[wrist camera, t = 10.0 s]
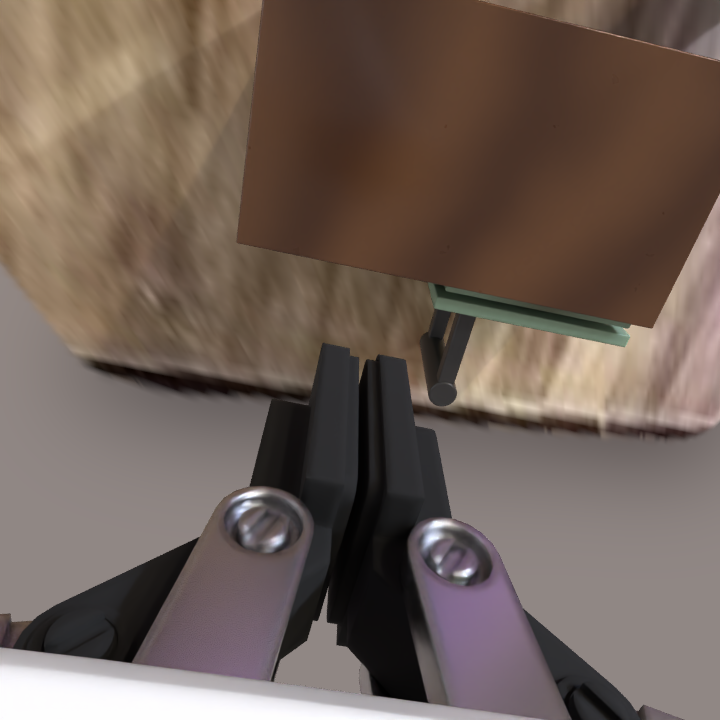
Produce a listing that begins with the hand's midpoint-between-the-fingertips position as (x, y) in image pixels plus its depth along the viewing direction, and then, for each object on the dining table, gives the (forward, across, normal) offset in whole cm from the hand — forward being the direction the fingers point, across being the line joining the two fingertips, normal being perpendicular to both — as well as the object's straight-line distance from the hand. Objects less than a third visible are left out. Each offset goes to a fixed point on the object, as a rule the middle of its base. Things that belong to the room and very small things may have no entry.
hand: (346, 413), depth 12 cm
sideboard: (+23, -5, -3) cm, 24 cm away
